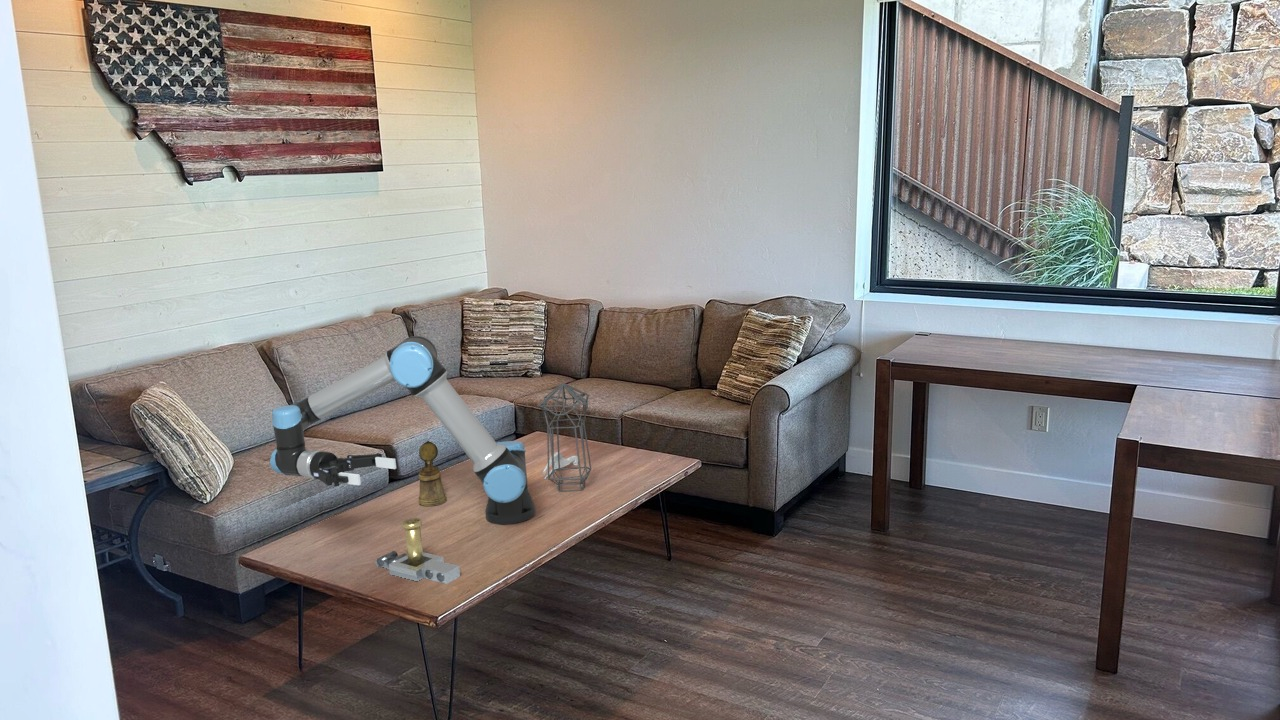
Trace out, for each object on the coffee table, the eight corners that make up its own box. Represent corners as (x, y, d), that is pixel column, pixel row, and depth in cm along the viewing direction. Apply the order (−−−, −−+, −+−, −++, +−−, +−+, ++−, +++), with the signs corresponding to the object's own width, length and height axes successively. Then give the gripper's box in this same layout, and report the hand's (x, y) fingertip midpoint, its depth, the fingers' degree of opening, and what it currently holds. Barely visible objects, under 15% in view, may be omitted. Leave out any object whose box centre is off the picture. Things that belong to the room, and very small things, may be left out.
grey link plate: (368, 569, 250) (367, 559, 249) (396, 555, 258) (395, 545, 257) (439, 587, 236) (438, 576, 235) (466, 572, 244) (465, 562, 244)
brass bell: (447, 491, 310) (441, 439, 306) (446, 504, 297) (441, 450, 293) (419, 494, 308) (414, 442, 304) (418, 508, 295) (412, 453, 291)
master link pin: (427, 566, 250) (422, 517, 247) (425, 574, 245) (420, 523, 242) (408, 568, 249) (403, 519, 246) (406, 576, 244) (400, 525, 241)
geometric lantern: (544, 495, 300) (535, 390, 294) (551, 481, 316) (543, 380, 310) (593, 493, 299) (584, 387, 293) (597, 478, 315) (589, 377, 309)
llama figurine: (554, 495, 319) (580, 461, 331) (544, 469, 313) (571, 437, 326) (549, 494, 320) (576, 461, 332) (540, 469, 314) (567, 436, 327)
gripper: (352, 464, 267) (410, 470, 258) (285, 492, 245) (345, 501, 236) (349, 439, 266) (407, 444, 256) (281, 465, 244) (341, 472, 234)
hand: (377, 471), depth 246 cm, fingers open, 13 cm apart
